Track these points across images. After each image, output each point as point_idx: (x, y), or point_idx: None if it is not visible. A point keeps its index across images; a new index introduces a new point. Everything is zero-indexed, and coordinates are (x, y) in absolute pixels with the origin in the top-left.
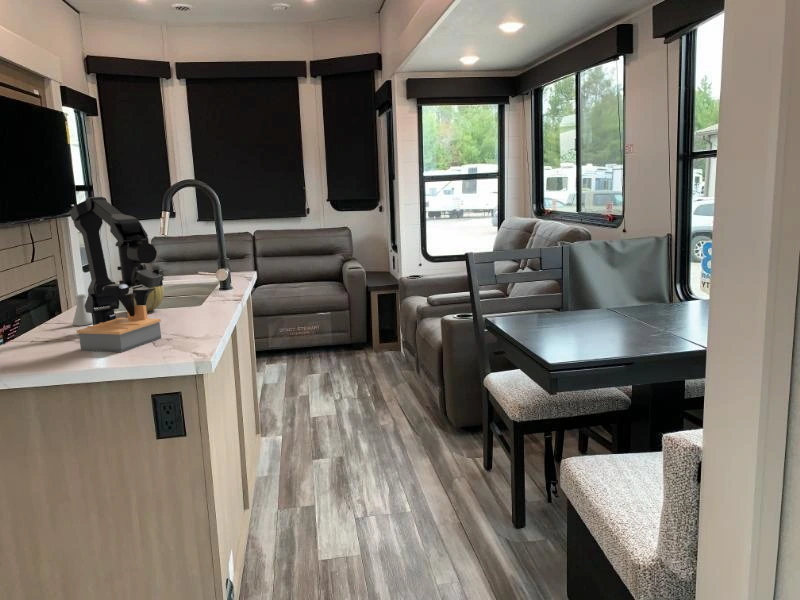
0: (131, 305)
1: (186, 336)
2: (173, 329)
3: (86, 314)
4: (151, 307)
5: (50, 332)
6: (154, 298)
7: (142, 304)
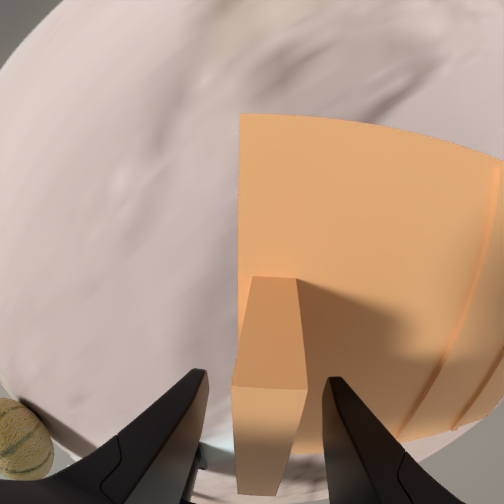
0: (409, 455)
1: (201, 22)
2: (75, 224)
3: None
4: (20, 408)
5: (232, 497)
6: (4, 414)
7: (175, 440)
